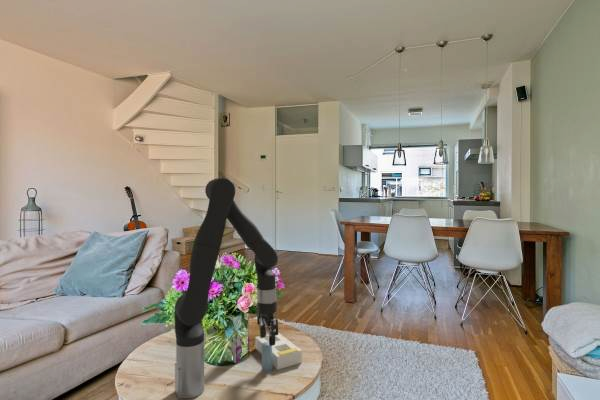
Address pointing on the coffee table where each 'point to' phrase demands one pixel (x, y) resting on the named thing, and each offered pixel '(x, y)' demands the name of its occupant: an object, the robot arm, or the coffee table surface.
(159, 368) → the coffee table surface
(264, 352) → the blue-grey upright block
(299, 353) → the socket board
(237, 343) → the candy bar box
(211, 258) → the robot arm
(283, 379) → the coffee table surface
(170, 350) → the coffee table surface
